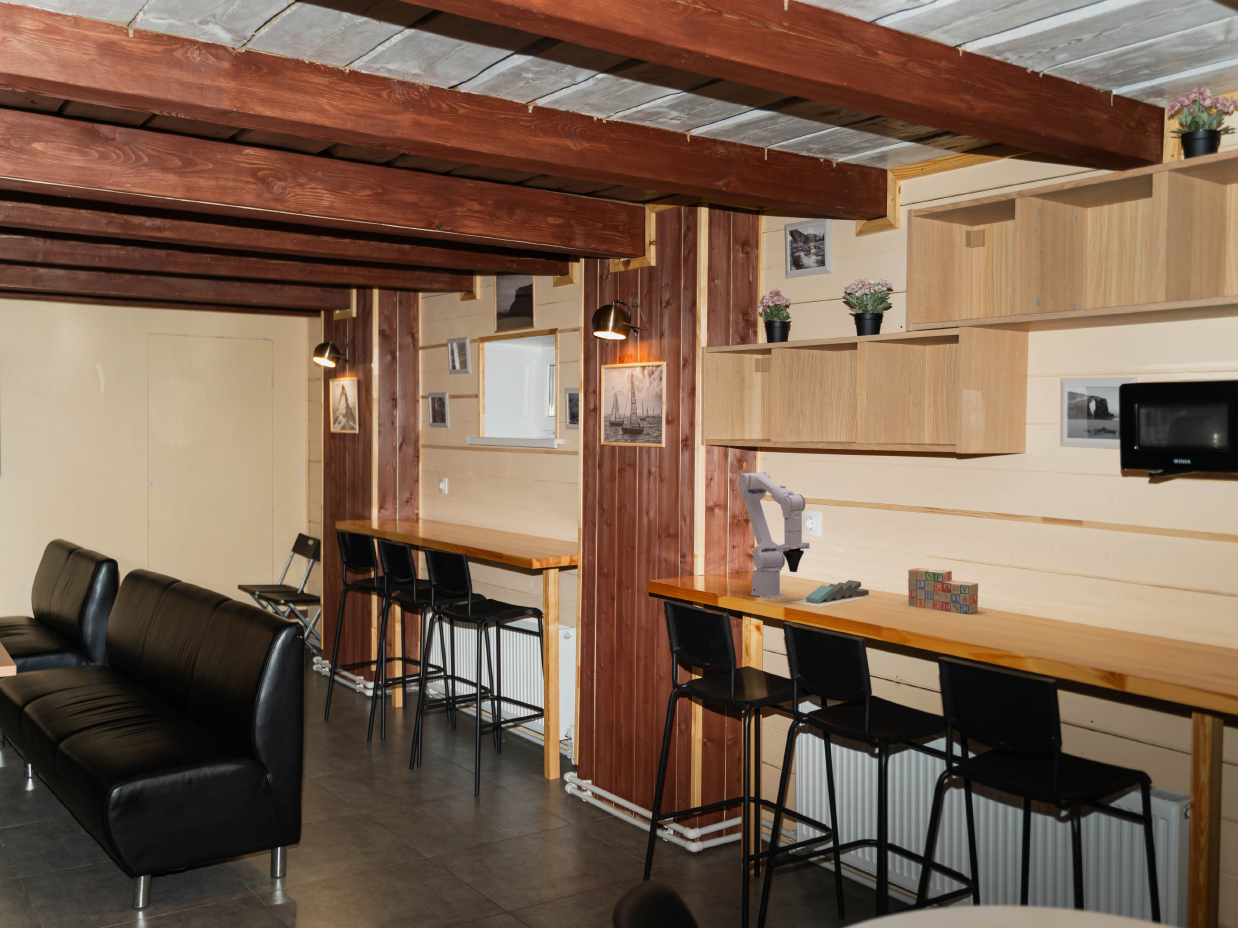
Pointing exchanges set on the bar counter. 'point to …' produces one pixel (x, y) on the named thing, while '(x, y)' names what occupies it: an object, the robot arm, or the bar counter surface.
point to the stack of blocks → (941, 591)
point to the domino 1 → (820, 594)
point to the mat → (827, 602)
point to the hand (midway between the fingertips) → (793, 571)
